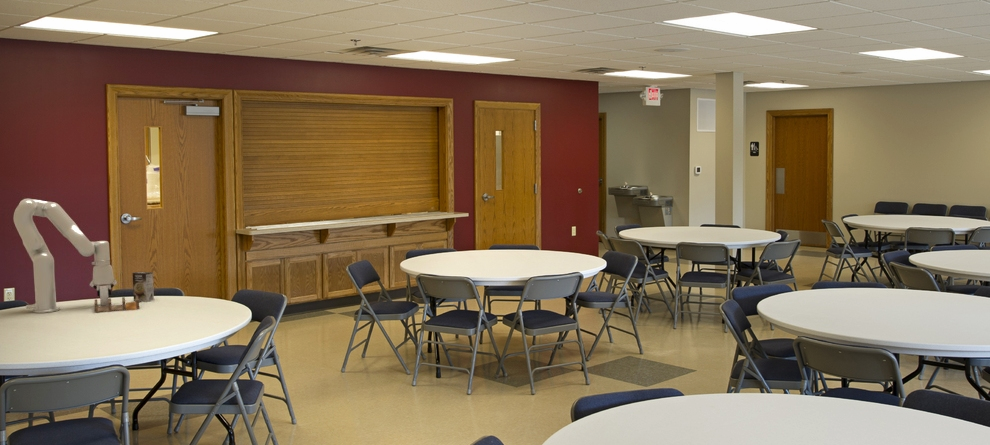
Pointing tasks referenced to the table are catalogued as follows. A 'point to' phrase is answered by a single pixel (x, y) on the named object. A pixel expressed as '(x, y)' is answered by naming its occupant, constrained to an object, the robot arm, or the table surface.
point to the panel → (104, 296)
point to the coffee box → (143, 286)
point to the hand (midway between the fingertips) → (104, 296)
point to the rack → (117, 306)
